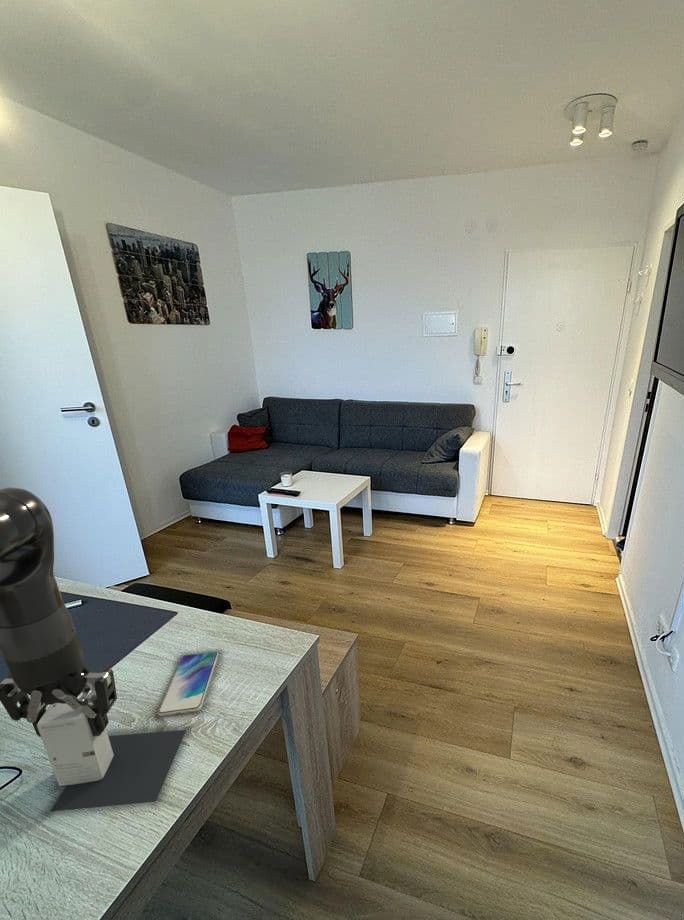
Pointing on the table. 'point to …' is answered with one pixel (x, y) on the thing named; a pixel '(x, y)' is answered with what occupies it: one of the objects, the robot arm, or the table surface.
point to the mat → (127, 772)
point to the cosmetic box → (74, 745)
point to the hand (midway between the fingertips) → (75, 732)
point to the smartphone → (189, 684)
